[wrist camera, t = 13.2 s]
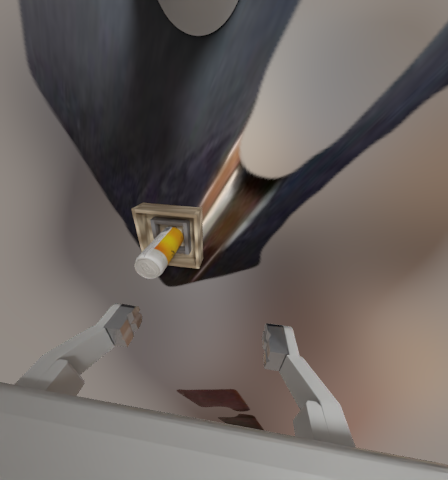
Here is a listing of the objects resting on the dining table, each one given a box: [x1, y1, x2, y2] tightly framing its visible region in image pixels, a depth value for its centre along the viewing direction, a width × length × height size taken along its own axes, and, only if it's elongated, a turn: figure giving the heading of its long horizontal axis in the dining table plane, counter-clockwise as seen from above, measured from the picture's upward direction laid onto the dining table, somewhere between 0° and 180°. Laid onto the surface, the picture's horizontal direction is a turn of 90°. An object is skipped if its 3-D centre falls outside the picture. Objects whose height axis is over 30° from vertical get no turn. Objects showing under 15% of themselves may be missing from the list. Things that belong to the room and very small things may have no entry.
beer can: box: [134, 227, 184, 279], centre depth 41 cm, size 6×6×15 cm
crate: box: [131, 203, 203, 269], centre depth 46 cm, size 16×16×5 cm
